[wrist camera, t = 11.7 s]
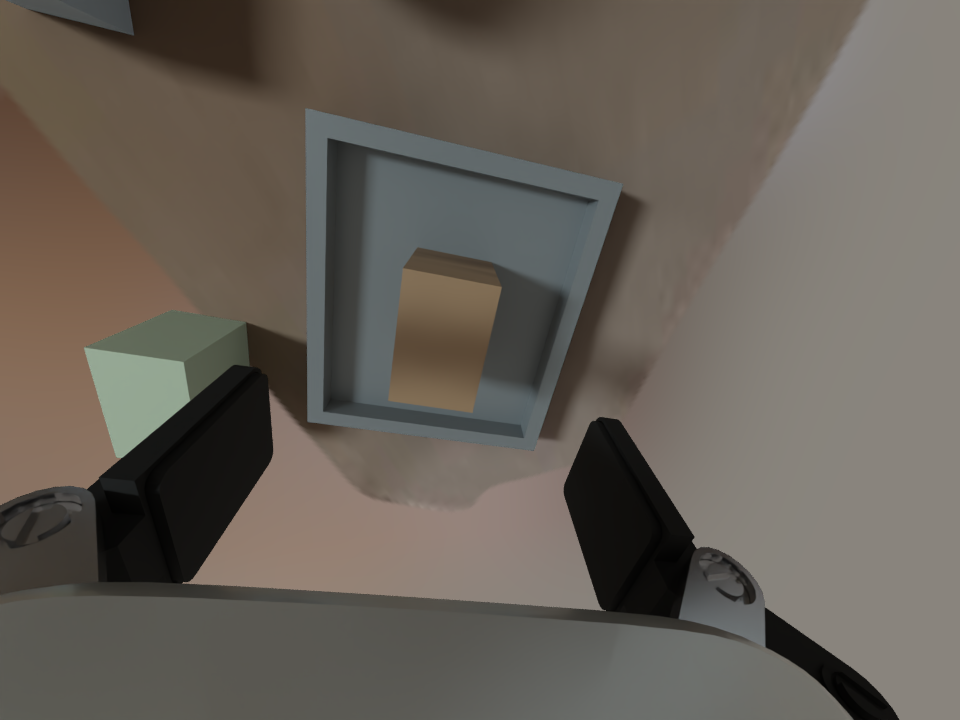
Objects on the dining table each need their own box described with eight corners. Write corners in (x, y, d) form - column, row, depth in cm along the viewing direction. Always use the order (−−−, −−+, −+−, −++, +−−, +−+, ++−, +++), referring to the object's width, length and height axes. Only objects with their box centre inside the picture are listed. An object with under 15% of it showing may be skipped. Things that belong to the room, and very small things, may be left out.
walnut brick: (417, 247, 21) (403, 268, 16) (491, 262, 22) (502, 287, 16) (404, 352, 24) (388, 400, 19) (469, 363, 25) (472, 412, 19)
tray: (323, 117, 19) (305, 108, 17) (606, 184, 21) (623, 183, 19) (319, 402, 26) (307, 421, 24) (528, 430, 28) (533, 450, 26)
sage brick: (172, 309, 23) (83, 347, 18) (246, 321, 24) (183, 361, 18) (187, 401, 26) (116, 457, 20) (253, 409, 26) (200, 466, 21)
